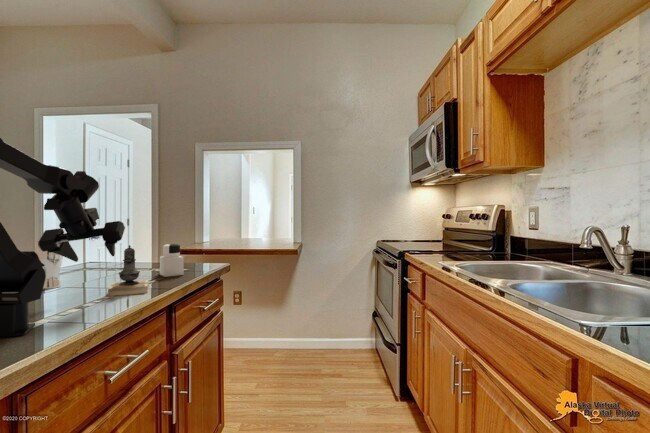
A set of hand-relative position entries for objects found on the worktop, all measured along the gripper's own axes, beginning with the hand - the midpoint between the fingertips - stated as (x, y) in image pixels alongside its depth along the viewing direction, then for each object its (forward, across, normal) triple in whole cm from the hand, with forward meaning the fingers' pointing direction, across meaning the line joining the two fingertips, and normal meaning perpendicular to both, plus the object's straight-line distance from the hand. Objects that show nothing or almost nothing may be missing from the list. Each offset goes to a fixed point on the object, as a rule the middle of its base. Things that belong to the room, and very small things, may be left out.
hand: (95, 257), depth 94 cm
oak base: (+14, -5, +1) cm, 15 cm away
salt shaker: (+13, -5, 0) cm, 14 cm away
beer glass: (+18, +22, -10) cm, 30 cm away
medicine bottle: (+32, -11, -20) cm, 39 cm away
